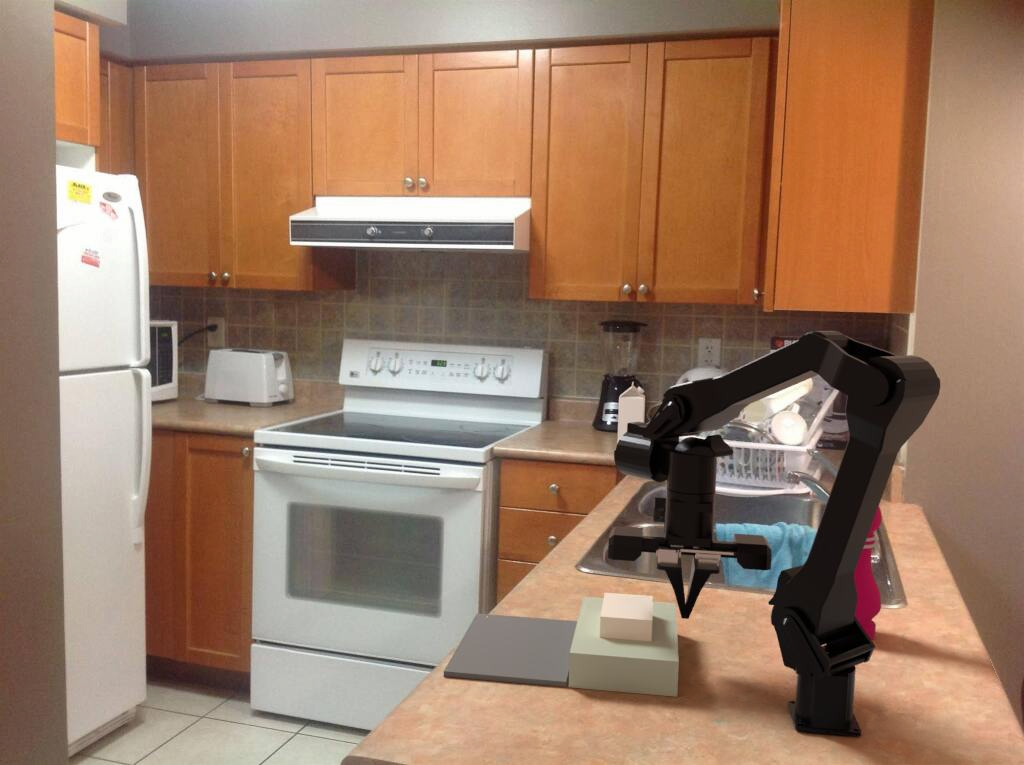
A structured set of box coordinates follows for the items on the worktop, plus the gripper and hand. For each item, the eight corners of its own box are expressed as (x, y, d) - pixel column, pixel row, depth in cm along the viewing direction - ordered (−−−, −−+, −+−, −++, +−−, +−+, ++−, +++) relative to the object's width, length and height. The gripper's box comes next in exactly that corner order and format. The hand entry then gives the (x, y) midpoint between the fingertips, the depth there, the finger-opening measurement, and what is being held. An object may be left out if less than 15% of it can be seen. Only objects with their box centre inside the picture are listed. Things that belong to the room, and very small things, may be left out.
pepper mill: (837, 620, 131) (845, 477, 129) (888, 634, 126) (898, 485, 124) (811, 632, 126) (819, 483, 124) (863, 648, 121) (873, 493, 119)
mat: (565, 687, 107) (566, 681, 106) (443, 676, 109) (443, 671, 109) (580, 625, 126) (580, 621, 126) (476, 617, 128) (476, 613, 128)
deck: (677, 696, 105) (678, 661, 104) (568, 687, 107) (569, 652, 106) (674, 633, 124) (675, 603, 124) (582, 625, 126) (583, 596, 126)
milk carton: (617, 450, 268) (619, 383, 266) (618, 446, 275) (620, 381, 273) (642, 451, 267) (645, 384, 265) (643, 447, 273) (645, 382, 272)
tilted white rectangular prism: (651, 641, 110) (652, 620, 110) (599, 637, 111) (600, 616, 111) (652, 615, 119) (652, 596, 119) (604, 611, 120) (604, 592, 120)
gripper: (764, 480, 119) (758, 602, 120) (615, 472, 122) (610, 591, 123) (775, 499, 108) (767, 633, 110) (610, 490, 111) (605, 620, 112)
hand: (685, 617), depth 114 cm, fingers closed
